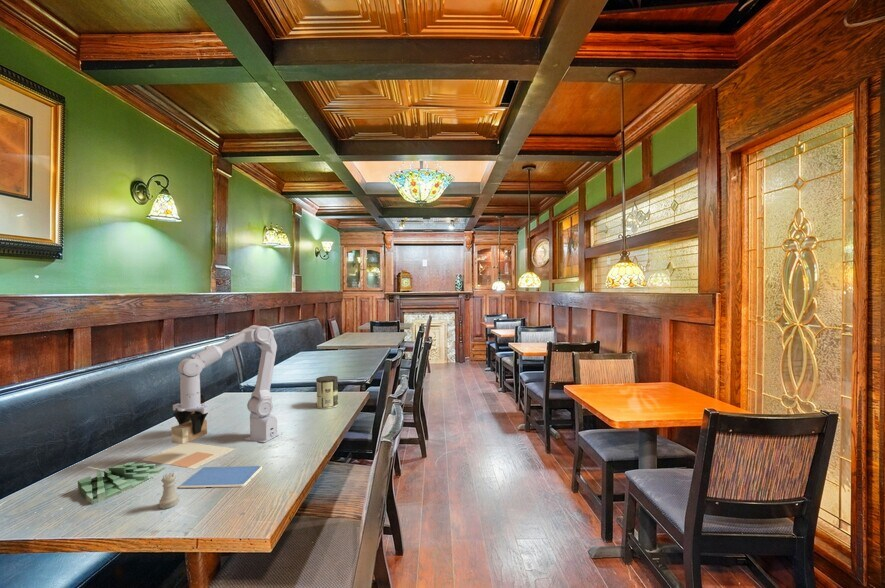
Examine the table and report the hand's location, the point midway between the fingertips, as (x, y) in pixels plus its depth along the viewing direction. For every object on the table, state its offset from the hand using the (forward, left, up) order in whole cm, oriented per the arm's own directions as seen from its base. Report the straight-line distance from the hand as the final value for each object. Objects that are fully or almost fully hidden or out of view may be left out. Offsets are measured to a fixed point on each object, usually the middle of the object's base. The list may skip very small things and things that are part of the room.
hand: (191, 432), depth 130 cm
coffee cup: (+21, -18, -9) cm, 30 cm away
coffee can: (-11, -64, -9) cm, 66 cm away
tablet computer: (-23, +8, -10) cm, 26 cm away
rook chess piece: (-22, +24, -9) cm, 33 cm away
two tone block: (0, 0, -2) cm, 2 cm away
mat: (+2, -1, -9) cm, 9 cm away
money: (+4, +21, -10) cm, 23 cm away
